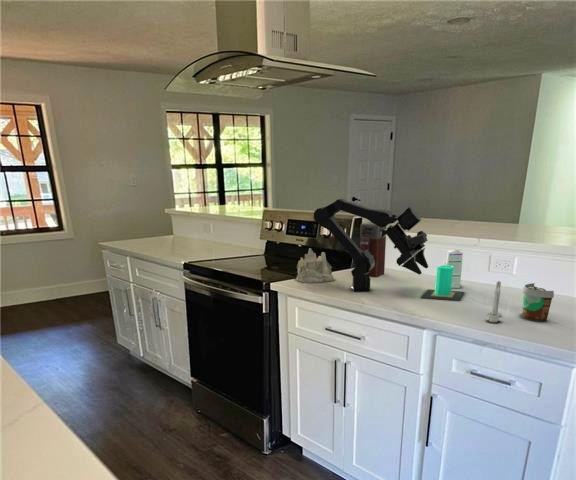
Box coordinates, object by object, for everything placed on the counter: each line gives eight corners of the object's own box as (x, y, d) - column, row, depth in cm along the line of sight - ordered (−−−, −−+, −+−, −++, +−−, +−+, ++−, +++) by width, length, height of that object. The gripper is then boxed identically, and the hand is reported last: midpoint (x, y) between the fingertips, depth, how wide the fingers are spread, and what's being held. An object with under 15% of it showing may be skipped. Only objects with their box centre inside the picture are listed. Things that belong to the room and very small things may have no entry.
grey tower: (460, 288, 206) (464, 251, 200) (445, 288, 207) (448, 251, 201) (458, 285, 211) (462, 249, 205) (444, 285, 212) (447, 249, 206)
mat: (421, 298, 192) (421, 296, 192) (427, 290, 204) (428, 289, 204) (459, 300, 187) (459, 299, 187) (464, 292, 198) (464, 291, 198)
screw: (482, 321, 162) (490, 318, 165) (496, 324, 158) (504, 321, 161) (487, 281, 157) (495, 278, 160) (502, 283, 153) (510, 280, 156)
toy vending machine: (356, 276, 234) (358, 212, 223) (367, 272, 242) (369, 210, 231) (374, 278, 229) (376, 213, 218) (384, 273, 237) (387, 211, 226)
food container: (511, 313, 170) (515, 283, 166) (528, 312, 170) (533, 282, 166) (530, 323, 158) (535, 292, 154) (549, 322, 159) (554, 291, 155)
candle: (446, 291, 198) (449, 261, 194) (453, 295, 193) (456, 263, 188) (431, 292, 197) (434, 261, 193) (438, 296, 192) (441, 264, 187)
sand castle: (336, 281, 224) (334, 246, 219) (299, 284, 222) (297, 249, 217) (328, 276, 239) (326, 244, 234) (294, 280, 237) (291, 247, 232)
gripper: (408, 230, 182) (434, 264, 183) (422, 220, 196) (447, 252, 197) (385, 249, 189) (410, 282, 190) (401, 238, 203) (424, 269, 204)
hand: (424, 270), depth 195 cm, fingers open, 9 cm apart
